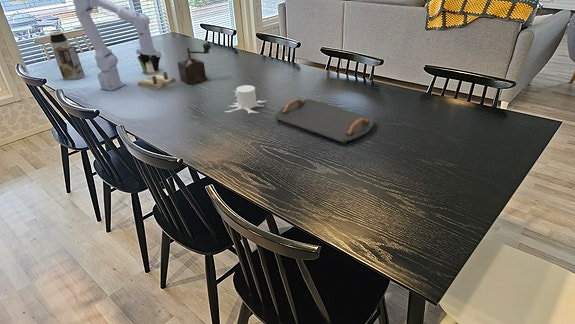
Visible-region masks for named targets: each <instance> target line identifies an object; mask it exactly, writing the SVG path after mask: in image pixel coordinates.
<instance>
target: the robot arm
mask: <svg viewBox="0 0 575 324" xmlns="http://www.w3.org/2000/svg"><path fill="white" fill-rule="evenodd" d="M72 3H73V5H74V9H75V15H76V17H77V19H78V21H79V23H80V25H81V27H82V29H83V31H84V32H85V35H86V36H87V38H88V41H89V42H90V44H91V45H92V48H93V50H94V51H95V55H94V59H95V60H96V66H97V68H98V69H99V70H100V72H99V73H98V74H97V79H98V82H99V85H100V87H99V89H100V90H106V91H110V92H111V91H114V90H117V89H119V88H121V87H123V86H126V83H124V82H122V80H121V77H120V73H119V69H118V67H117V64H118V62H119V61H118V60H119V59H118V57H117V56H116V55H115V54H114V53H113V51H112V50H111V49H109V48H108V47H107V44H106V43H105V42H104V40H103V37H102V36H101V34H100V32H99V29H98V28H97V26H96V24H95V21H94V20H93V18H92V16H91V13H92V11H93V9H94V8H99V7H100V8H102V9H105V10H107V11H109V12H110V13H113V14H116V15H117V17H118V18H119V19H120V20H122V21H125V22H127V23H129V24H131V25H133V27H134V28H135V30H136V33H137V37H138V40H139V41H138V42H139V45H140V48H138V49H136V50H135V52H136V54H137V55H138V56H137V57H138V58H139V59H140V60H141V61H142V63H143V64H144V66H145V68H146V62H149V59H150V61H151V63H152V65H153V69H154V71H158V72H159V67H160V61H161V60H160V59H161V57H162V53H161V51H157V50H156V48H154V43H153V38H152V34H151V30H150V24H151V23H150V22H151V20H150V17H149V16H148V15H146V14H145V13H140V12H138V11H135V10H133V9H131V8H130V7H129V6H127V5H126V6H125V5H122V6H119V5H117V4H115V3H114V2H112V1H110V0H72ZM149 55H150V56H152V57H150V58H149ZM146 70H147V68H146Z"/></svg>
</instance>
